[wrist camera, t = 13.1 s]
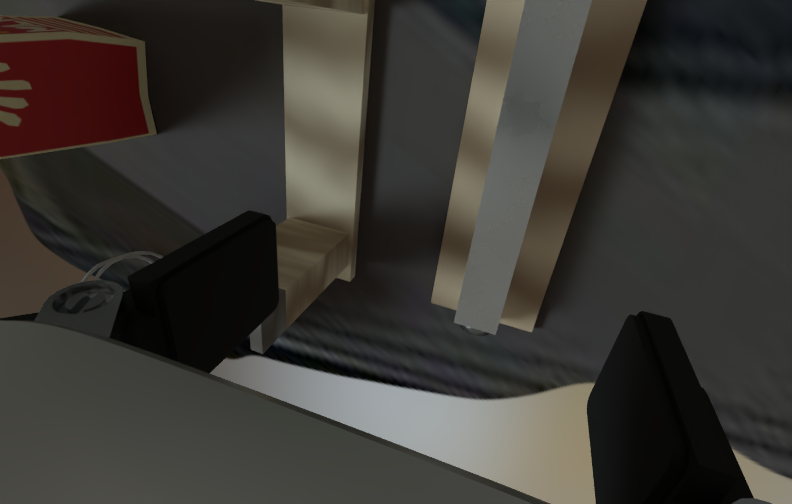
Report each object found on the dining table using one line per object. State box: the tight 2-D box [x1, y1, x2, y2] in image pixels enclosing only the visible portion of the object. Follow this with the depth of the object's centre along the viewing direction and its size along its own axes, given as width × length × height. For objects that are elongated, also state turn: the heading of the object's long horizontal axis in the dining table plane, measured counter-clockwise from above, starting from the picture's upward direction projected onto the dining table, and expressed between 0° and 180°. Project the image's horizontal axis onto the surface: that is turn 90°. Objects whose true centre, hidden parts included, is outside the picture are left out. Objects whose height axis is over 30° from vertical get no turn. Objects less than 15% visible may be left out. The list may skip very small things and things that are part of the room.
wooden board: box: [431, 0, 647, 332], centre depth 26 cm, size 24×8×1 cm, turn 173°
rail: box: [454, 0, 592, 336], centre depth 25 cm, size 24×3×3 cm, turn 173°
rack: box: [250, 0, 375, 354], centre depth 25 cm, size 24×6×12 cm, turn 173°
